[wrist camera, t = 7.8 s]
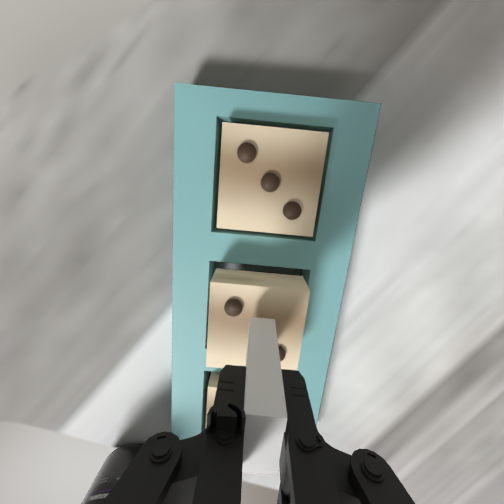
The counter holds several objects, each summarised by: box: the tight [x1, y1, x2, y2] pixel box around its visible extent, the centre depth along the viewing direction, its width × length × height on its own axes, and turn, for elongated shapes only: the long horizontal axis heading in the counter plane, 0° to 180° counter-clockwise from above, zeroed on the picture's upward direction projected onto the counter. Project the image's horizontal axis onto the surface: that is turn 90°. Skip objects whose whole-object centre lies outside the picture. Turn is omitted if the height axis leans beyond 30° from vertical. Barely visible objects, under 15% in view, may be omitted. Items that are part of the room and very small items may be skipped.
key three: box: [217, 122, 329, 237], centre depth 16 cm, size 6×6×3 cm
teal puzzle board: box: [171, 83, 381, 440], centre depth 20 cm, size 28×12×2 cm, turn 175°
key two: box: [206, 268, 310, 370], centre depth 17 cm, size 6×6×3 cm
